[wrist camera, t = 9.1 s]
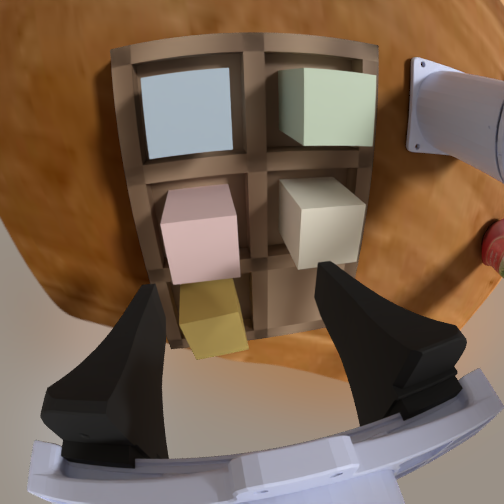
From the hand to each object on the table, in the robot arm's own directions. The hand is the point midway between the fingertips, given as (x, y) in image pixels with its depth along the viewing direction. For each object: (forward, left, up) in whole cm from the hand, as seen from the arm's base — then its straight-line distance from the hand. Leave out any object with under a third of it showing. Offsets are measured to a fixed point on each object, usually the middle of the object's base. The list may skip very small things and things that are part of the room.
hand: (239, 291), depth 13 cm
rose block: (+2, 0, -9) cm, 9 cm away
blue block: (+2, -7, -9) cm, 12 cm away
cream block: (-6, 0, -9) cm, 11 cm away
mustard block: (+2, +7, -9) cm, 12 cm away
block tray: (-2, 0, -10) cm, 10 cm away
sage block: (-6, -7, -9) cm, 13 cm away
